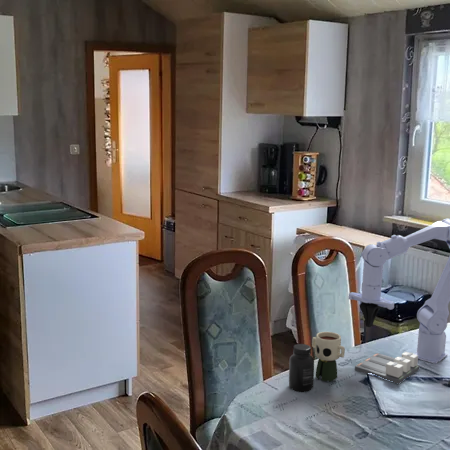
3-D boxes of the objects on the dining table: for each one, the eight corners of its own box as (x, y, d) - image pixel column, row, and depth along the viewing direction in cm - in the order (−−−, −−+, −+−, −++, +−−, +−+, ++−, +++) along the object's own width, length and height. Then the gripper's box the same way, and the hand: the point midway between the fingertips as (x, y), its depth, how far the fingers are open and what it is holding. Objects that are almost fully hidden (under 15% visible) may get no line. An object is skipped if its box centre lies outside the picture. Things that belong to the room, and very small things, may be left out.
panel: (377, 356, 194) (377, 352, 194) (419, 369, 185) (419, 365, 185) (354, 369, 184) (355, 365, 184) (398, 384, 175) (398, 380, 175)
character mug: (303, 376, 179) (305, 333, 176) (317, 369, 184) (320, 327, 182) (335, 388, 172) (337, 344, 169) (349, 380, 177) (351, 337, 174)
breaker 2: (404, 360, 187) (405, 351, 187) (417, 364, 185) (418, 354, 184) (401, 363, 185) (401, 353, 185) (413, 367, 183) (414, 357, 182)
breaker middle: (397, 365, 184) (398, 355, 183) (410, 369, 181) (411, 359, 180) (393, 368, 182) (394, 358, 181) (406, 372, 179) (407, 362, 178)
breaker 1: (389, 370, 180) (390, 360, 179) (402, 375, 177) (403, 364, 177) (385, 373, 178) (386, 363, 177) (398, 377, 175) (399, 367, 175)
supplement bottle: (312, 383, 175) (314, 343, 172) (313, 393, 168) (315, 352, 166) (288, 381, 175) (290, 341, 173) (288, 392, 169) (290, 351, 166)
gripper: (344, 281, 191) (342, 323, 193) (387, 291, 181) (384, 335, 184) (356, 277, 196) (353, 318, 198) (398, 286, 186) (395, 329, 189)
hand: (369, 326), depth 191 cm, fingers closed
